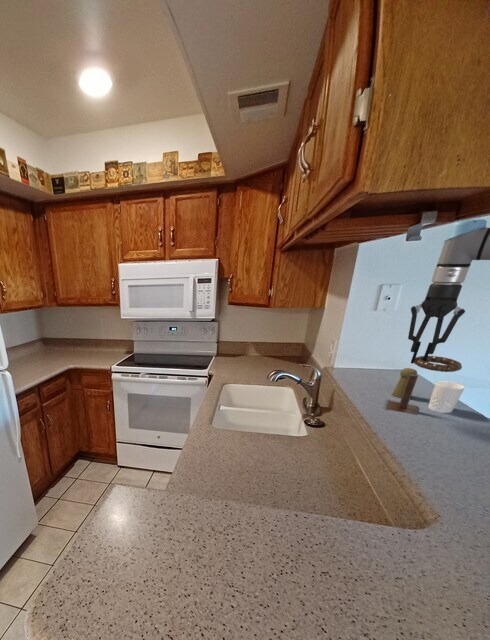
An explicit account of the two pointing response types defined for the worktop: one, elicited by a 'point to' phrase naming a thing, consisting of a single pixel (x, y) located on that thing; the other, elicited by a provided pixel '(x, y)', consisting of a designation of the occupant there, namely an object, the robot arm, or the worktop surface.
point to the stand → (405, 398)
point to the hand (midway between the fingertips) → (417, 362)
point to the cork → (403, 382)
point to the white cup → (445, 396)
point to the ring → (448, 367)
